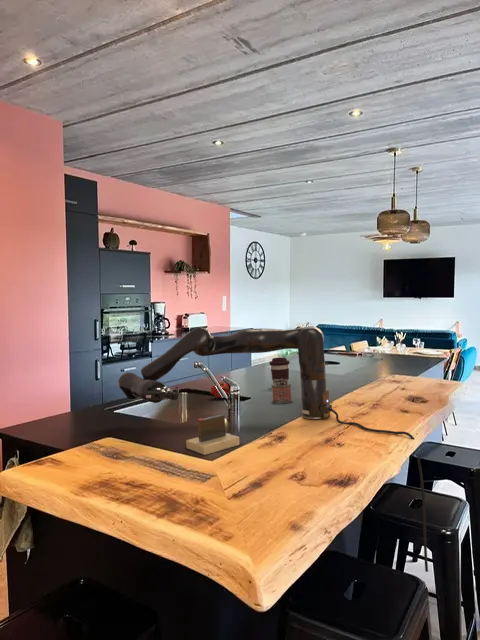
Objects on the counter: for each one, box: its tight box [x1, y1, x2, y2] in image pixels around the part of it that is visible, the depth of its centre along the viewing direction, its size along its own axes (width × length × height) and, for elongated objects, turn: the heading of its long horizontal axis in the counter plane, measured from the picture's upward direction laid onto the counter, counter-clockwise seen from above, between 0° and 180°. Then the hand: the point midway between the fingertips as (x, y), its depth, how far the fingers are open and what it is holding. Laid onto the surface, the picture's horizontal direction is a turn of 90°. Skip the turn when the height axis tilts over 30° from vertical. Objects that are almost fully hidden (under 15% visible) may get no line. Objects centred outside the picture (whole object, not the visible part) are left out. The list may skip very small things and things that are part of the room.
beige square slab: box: [185, 432, 240, 456], centre depth 149 cm, size 13×13×3 cm
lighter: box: [271, 379, 292, 404], centre depth 207 cm, size 8×3×10 cm, turn 84°
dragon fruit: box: [209, 381, 230, 400], centre depth 224 cm, size 8×8×12 cm
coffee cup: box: [269, 356, 291, 385], centre depth 241 cm, size 10×10×15 cm
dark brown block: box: [197, 413, 227, 442], centre depth 148 cm, size 9×2×7 cm, turn 128°
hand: (175, 396), depth 157 cm, fingers closed
